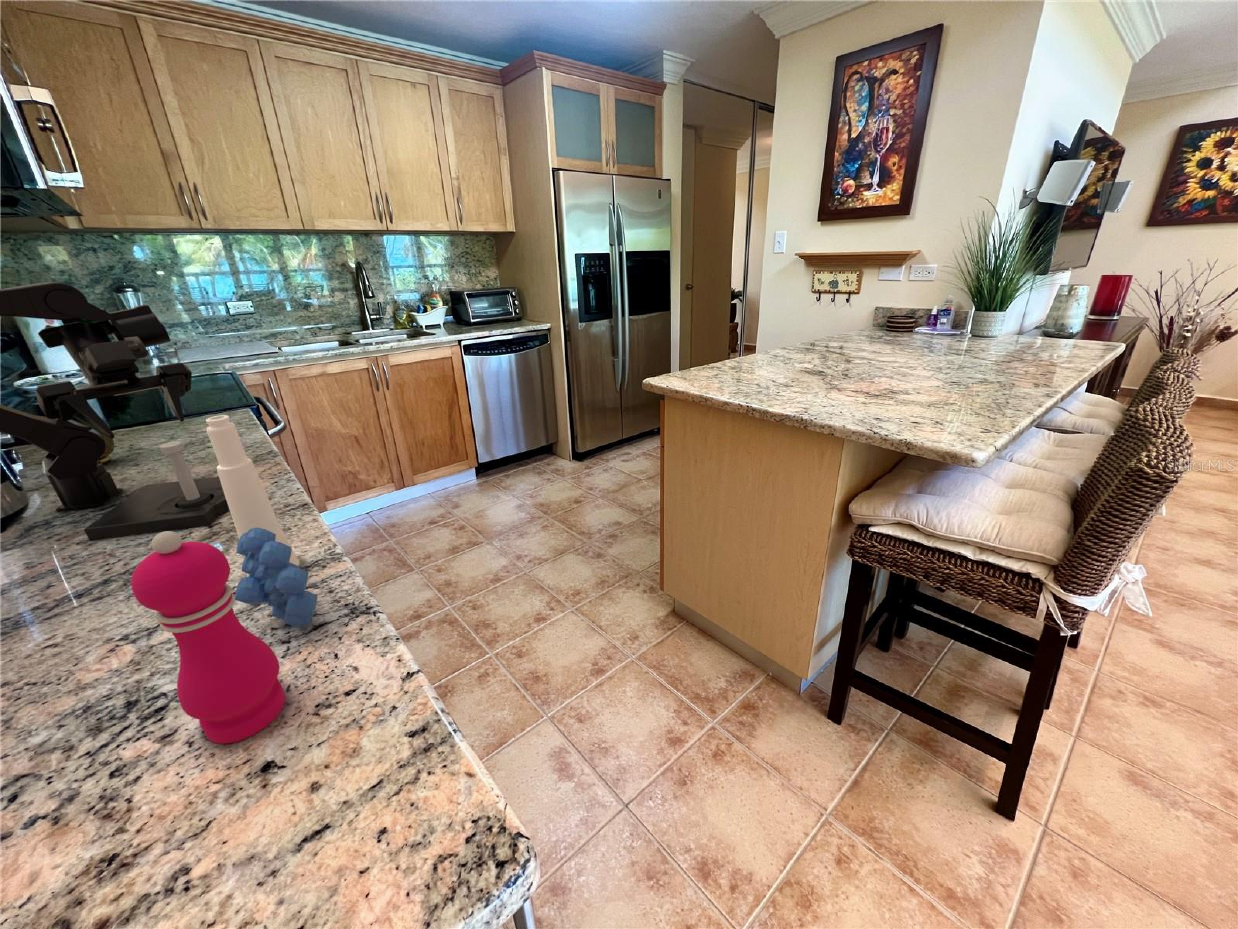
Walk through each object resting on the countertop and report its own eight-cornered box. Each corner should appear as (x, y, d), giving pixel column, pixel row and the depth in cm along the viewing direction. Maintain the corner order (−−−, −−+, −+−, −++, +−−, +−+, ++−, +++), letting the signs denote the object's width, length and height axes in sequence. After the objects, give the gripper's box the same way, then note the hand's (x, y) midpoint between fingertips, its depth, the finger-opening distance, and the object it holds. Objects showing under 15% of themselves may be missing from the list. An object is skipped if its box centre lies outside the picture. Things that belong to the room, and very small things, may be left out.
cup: (94, 472, 99) (75, 435, 96) (66, 470, 101) (46, 433, 98) (134, 458, 106) (117, 423, 103) (107, 456, 107) (90, 421, 104)
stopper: (176, 519, 81) (145, 450, 76) (190, 506, 85) (162, 440, 80) (207, 515, 82) (179, 447, 77) (219, 503, 86) (193, 437, 81)
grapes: (228, 623, 58) (189, 536, 53) (288, 591, 63) (258, 509, 58) (278, 662, 52) (240, 568, 47) (340, 623, 58) (311, 535, 53)
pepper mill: (231, 686, 50) (149, 512, 41) (306, 680, 50) (239, 507, 42) (179, 753, 43) (69, 563, 35) (265, 746, 43) (177, 556, 35)
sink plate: (89, 540, 76) (83, 529, 75) (151, 494, 90) (146, 484, 89) (215, 524, 79) (211, 513, 79) (255, 482, 94) (252, 472, 93)
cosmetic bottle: (236, 579, 66) (172, 423, 57) (279, 554, 71) (225, 408, 62) (269, 588, 64) (207, 428, 55) (310, 562, 69) (259, 412, 60)
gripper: (4, 331, 70) (64, 416, 70) (165, 315, 85) (217, 385, 84) (18, 379, 77) (73, 457, 77) (165, 356, 92) (213, 422, 91)
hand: (149, 428), depth 82 cm, fingers open, 9 cm apart
